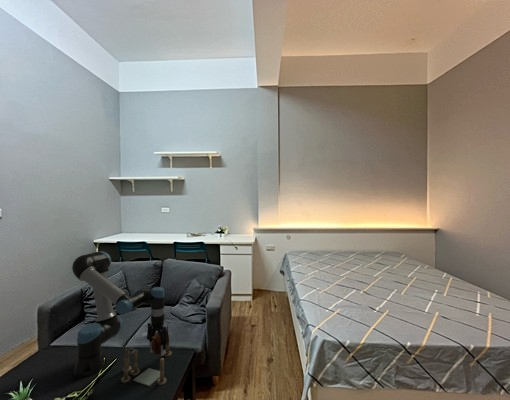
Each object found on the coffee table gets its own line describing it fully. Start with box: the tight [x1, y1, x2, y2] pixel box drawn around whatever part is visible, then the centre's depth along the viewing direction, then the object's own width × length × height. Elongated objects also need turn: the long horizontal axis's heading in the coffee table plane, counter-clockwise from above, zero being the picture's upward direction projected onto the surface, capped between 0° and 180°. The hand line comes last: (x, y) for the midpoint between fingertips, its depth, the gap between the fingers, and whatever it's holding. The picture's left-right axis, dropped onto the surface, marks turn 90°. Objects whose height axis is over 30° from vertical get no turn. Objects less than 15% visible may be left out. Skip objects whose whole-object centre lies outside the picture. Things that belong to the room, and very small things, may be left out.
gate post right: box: [156, 357, 168, 386], centre depth 143 cm, size 5×5×12 cm
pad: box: [133, 367, 160, 387], centre depth 146 cm, size 11×11×1 cm
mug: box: [151, 331, 166, 356], centre depth 158 cm, size 12×9×10 cm
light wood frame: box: [120, 346, 141, 383], centre depth 148 cm, size 11×11×13 cm
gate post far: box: [163, 333, 173, 357], centre depth 168 cm, size 5×5×12 cm
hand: (157, 353), depth 158 cm, fingers closed on mug, 7 cm apart
